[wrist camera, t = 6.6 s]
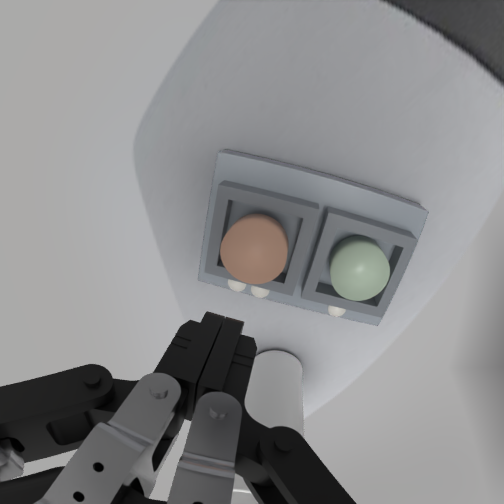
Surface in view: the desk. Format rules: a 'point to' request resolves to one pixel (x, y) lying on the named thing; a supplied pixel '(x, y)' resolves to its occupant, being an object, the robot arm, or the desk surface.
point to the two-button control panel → (308, 231)
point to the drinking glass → (272, 402)
